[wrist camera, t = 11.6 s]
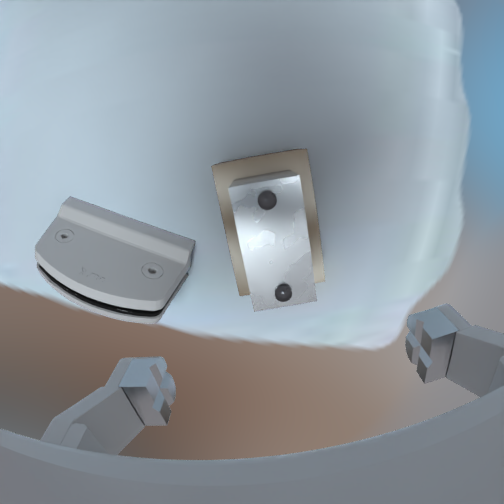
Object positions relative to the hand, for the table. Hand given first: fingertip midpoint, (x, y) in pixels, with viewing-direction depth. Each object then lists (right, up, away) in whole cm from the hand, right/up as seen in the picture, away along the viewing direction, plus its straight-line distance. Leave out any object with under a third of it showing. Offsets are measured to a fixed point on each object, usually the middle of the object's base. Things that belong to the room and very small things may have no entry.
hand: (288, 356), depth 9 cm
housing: (0, +6, +17) cm, 18 cm away
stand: (+1, +7, +22) cm, 23 cm away
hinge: (-16, +4, +24) cm, 29 cm away
